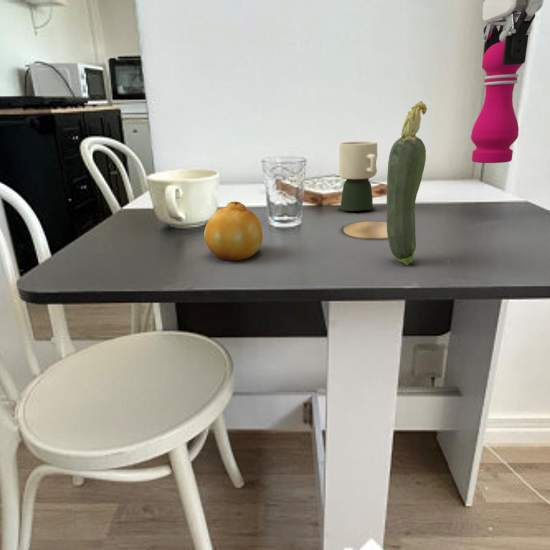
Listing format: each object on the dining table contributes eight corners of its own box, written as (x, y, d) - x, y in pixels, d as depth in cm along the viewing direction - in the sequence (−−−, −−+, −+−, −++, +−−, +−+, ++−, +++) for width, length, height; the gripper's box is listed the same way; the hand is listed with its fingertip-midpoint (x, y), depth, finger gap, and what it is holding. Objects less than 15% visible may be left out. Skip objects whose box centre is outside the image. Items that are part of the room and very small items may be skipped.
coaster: (401, 224, 76) (401, 221, 76) (409, 240, 67) (409, 237, 67) (343, 224, 78) (343, 221, 78) (343, 240, 69) (343, 237, 68)
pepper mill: (503, 164, 71) (521, 24, 64) (460, 162, 76) (472, 32, 69) (522, 159, 75) (540, 27, 68) (480, 157, 80) (493, 35, 73)
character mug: (388, 214, 83) (392, 143, 78) (356, 219, 81) (358, 146, 76) (356, 204, 93) (358, 139, 88) (327, 208, 90) (327, 142, 85)
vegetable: (380, 266, 57) (388, 102, 50) (384, 256, 61) (392, 102, 54) (416, 269, 56) (429, 100, 48) (418, 258, 59) (431, 100, 52)
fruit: (275, 232, 66) (245, 188, 63) (269, 254, 59) (234, 205, 56) (232, 258, 69) (201, 216, 66) (221, 281, 61) (186, 236, 59)
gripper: (583, -97, 56) (559, 59, 62) (512, -51, 72) (498, 69, 78) (524, -93, 56) (506, 62, 62) (467, -48, 72) (457, 72, 78)
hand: (502, 65), depth 70 cm, fingers closed on pepper mill, 6 cm apart
